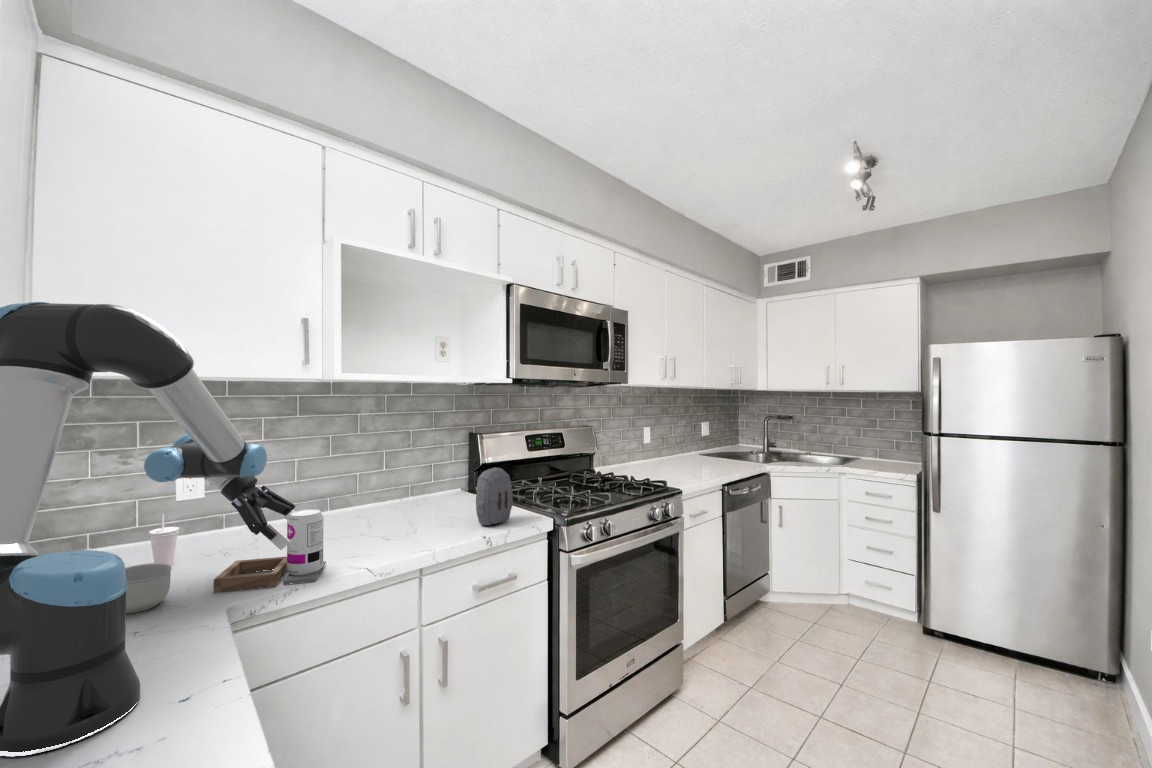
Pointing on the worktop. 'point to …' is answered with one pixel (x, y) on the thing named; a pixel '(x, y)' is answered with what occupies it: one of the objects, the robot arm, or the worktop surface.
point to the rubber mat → (303, 577)
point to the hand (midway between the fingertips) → (297, 537)
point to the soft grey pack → (493, 496)
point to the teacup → (146, 585)
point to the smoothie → (164, 543)
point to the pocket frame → (234, 581)
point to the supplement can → (305, 542)
